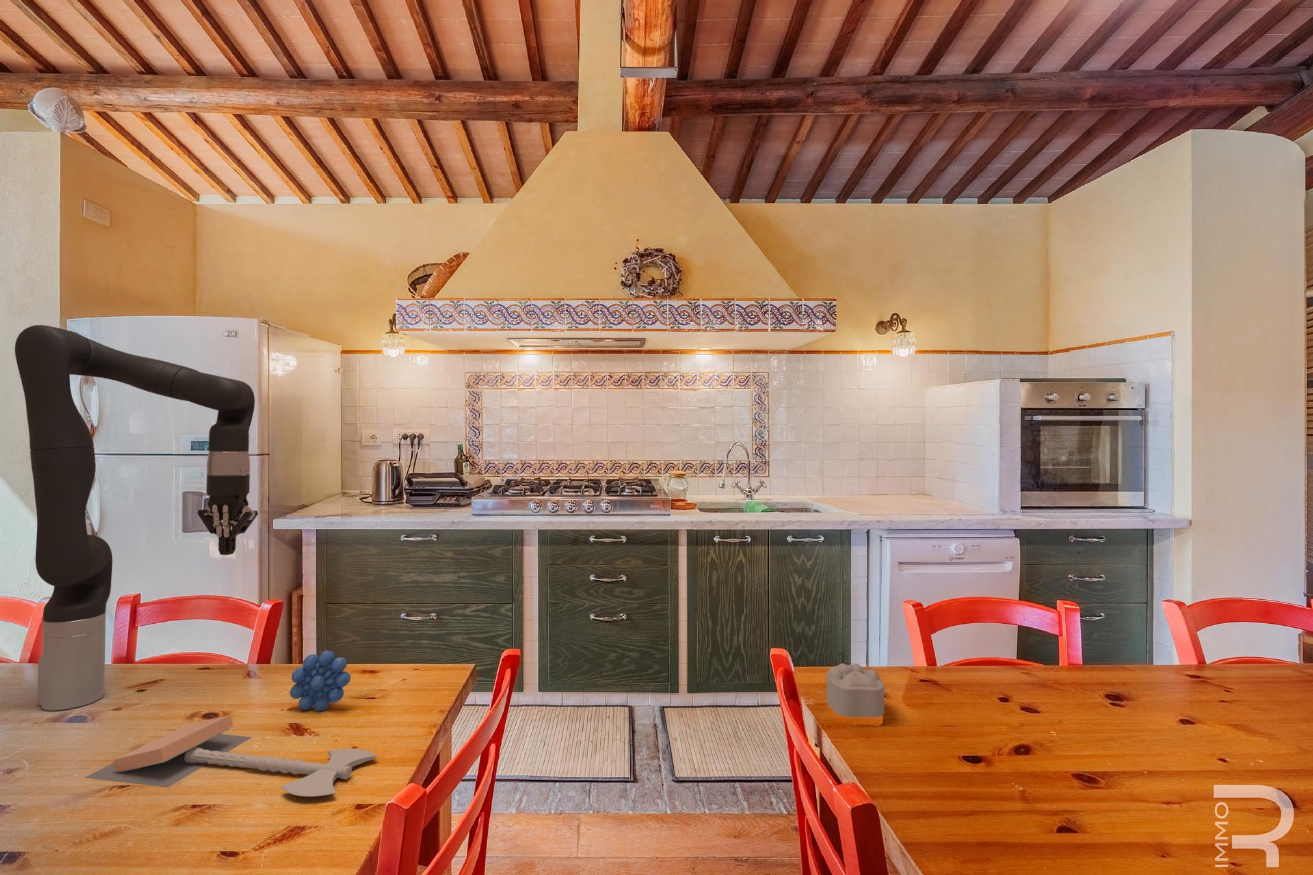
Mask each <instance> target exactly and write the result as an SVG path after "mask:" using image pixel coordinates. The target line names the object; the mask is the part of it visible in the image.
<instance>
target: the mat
mask: <svg viewBox="0 0 1313 875" xmlns="http://www.w3.org/2000/svg"><path fill="white" fill-rule="evenodd" d="M252 738H253V737H252V736H243V735H234V734H226V733H225V734H224V733H221V734H219V735H217V736H215V737H213V738H211V739H209V740H207V741H205V742H203V743H201V744H199V745H197V746H195V747H200V748H202V749H204V750H210V751H220V752H229V751H231V750H233V749H235V748H237V747H238V746H240V745H242V744H243V743H244V742H247V741H248V740H250V739H252ZM186 752H187V751H186ZM186 752H184V753H182V754H180V755H178V756H176V757H174V758H172V759H170V760H168V761H166V762H163V763H158V764H154V765H150V766H145V767H141V768H137V769H133V770H128V771H124V772H121V771H120V772H116V771H115V767H114V762H113V763H110V764H109V765H107V766H105V767H102V768H101V769H98V770H96V771H94V772H93V773H91V774H89V775H86V776H85V777H84V778H85V779H92V780H93V779H94V780H101V781H111V782H119V783H127V784H128V783H129V784H136V785H144V786H145V785H147V786H152V787H153V786H154V787H161V788H162V787H163V788H169V787H171V786H172V785H174V784H175V783H177V782H179V781H181V780H182V779H184V778H185V777H188V776H189V775H190V774H191V775H192V774H193V773H194V772H196V771H198V770H199V769H201V768H202V767H204V766H206V765H208V763H206V762H205V763H199V762H198V763H186V762H185V760H184V757H185V754H186Z"/></svg>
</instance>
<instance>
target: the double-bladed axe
mask: <svg viewBox="0 0 1313 875" xmlns="http://www.w3.org/2000/svg"><path fill="white" fill-rule="evenodd" d="M326 752H327V754H328V755H329V757H330V759H329V761H327V762H326V763H321V762H320V763H319V762H311V761H304V760H303V759H296V760H294V759H293V758H290V757H289V758H287V757H286V758H283V757H277V756H276V757H273V756H269V755H265V756H257V755H251V754H248V753H247V754H246V753H243V754H241V753H240V752H239V753H238V752H236V753H235V752H233V753H232V752H229V751H228V752H220V751H210V750H204V749H202V748H200V747H193V748H191V749H189V750H188V751H187V752H186V754H185V757H184V760H185V762H186V763H198V762H199V763H205V762H206V763H208V764H209V765H218V766H229V767H239V768H243V769H244V768H245V769H246V768H251V769H259V770H260V771H264V772H266V771H270V772H273V773H276V772H280V773H283V774H288V773H291V774H293V775H300V774H302V775H306V776H304V777H302V778H299V779H296V780H293V781H291V782H288V783H285V784H282V785H281V789H283V791H284V792H286V793H288V794H290V795H294V796H299V797H322V796H328V795H329V796H330V795H333V794H337V790H336V789H335V787H334V783H335V781H336V780H337V779H340V780H348V779H349V778H350V777H351V775H352V772H353V767H356V766H358V765H360V764H363V763H366V762H368V761H371V760H375V759H377V758H378V756H377V754H375V753H374V752H372V751H370V750H366V749H362V748H339V749H332V750H328V751H326ZM208 764H207V765H208Z"/></svg>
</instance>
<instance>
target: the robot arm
mask: <svg viewBox="0 0 1313 875" xmlns="http://www.w3.org/2000/svg"><path fill="white" fill-rule="evenodd" d="M14 356H15V361H16V365H17V366H16V367H17V369H18V373H19V378H20V382H21V385H22V390H23V395H24V401H25V410H26V419H27V427H28V435H29V450H30V451H29V455H30V464H31V466H30V467H31V472H32V473H31V474H32V479H33V491H34V501H35V509H36V539H35V543H36V544H35V557H34V558H35V561H34V562H35V568H36V572H37V574H38V576H39V577H40V579H42V580H43V581H44V582H45V583H46V584H48V585H50V586H52V587H53V592H52V594H51V596H50V598H49V600H48V601H47V603H46V604H45V605H44V607H43V610H42V654H41V656H39V658H38V665H37V666H38V667H37V668H38V670H37V672H38V673H37V674H38V675H37V676H38V677H37V706H41V707H40V708H41V709H42V710H44V711H62V710H70V709H75V708H79V707H83V706H86V705H89V704H92V703H94V702H96V701H100V699H101V698H103V697H104V696H105V677H106V676H105V675H106V672H105V671H106V630H107V628H106V625H107V624H106V620H107V618H106V617H107V603H108V600H109V598H110V595H111V591H112V590H111V589H112V576H113V553H112V549H111V546H110V545H109V543H108V542H107V541H106V540H104V539H103V538H101V537H100V536H97V535H94V534H88V528H87V518H86V514H87V506H88V500H89V498H90V495H91V492H92V488H93V484H94V481H95V478H96V477H95V476H96V470H97V468H96V466H97V464H96V452H95V442H94V439H93V435H92V433H91V431H90V428H89V426H88V425H87V423H86V421H85V419H84V417H83V416H82V415H81V413H80V411H79V409H78V407H77V406H76V404H75V401H74V397H73V395H72V389H71V376H73V375H74V376H85V377H94V378H100V379H101V378H102V379H106V380H111V381H116V382H119V383H122V384H125V385H129V386H131V387H134V388H136V389H139V390H141V391H145V392H148V393H151V394H156V395H158V396H163V397H166V398H169V399H170V398H171V399H174V400H179V401H185V402H188V403H192V404H196V405H198V406H201V407H205V408H208V409H211V410H215V411H217V416H216V417H217V418H216V421H215V422H216V423H214V424H213V425H212V426H210V428H209V432H208V455H207V458H206V459H207V460H206V490H205V491H206V492H205V493H206V495H207V496H209V498H208V500H207V506H205V507H204V508H203V509H199V510H197V515H198V517H199V518H200V520H201V521H202V523H203V524H204V526H205V527H206V529H207V530H208V532H209V534H212V535H213V534H214V535H216V537H218V548H217V549H218V552H219V555H221V556H228V555H230V556H231V555H233V554H234V553H235V551H236V548H237V547H236V545H237V544H236V543H237V540H236V539H237V536H238V535H240V534H245V533H246V531H248V529H249V527H250V526H251V525H252V523H253V522H254V521H255V519H256V518H257V516H258V515H259V512H258V510H252V508H251V507H250V506H249V501H248V497H247V496H248V494H250V486H251V484H250V481H251V480H250V479H251V468H250V467H251V460H250V452H249V451H250V440H249V439H250V433H249V432H250V429H251V428H250V427H251V424H252V421H253V417H254V416H253V415H254V411H255V405H256V404H255V403H256V399H255V398H256V397H255V392H254V390H253V388H252V387H251V386H250V385H249V384H248V383H247V382H245V381H241V380H238V379H234V378H229V377H225V376H224V377H223V376H220V375H215V374H212V373H211V374H210V373H205V372H201V371H199V370H197V369H195V368H194V369H193V368H191V367H188V366H185V365H184V366H183V365H180V364H176V363H173V362H169V361H164V360H160V359H155V358H150V357H145V356H141V355H136V354H132V353H127V352H124V351H121V350H118V349H115V348H112V347H110V346H107V345H105V344H103V343H100V342H97V341H95V340H93V339H92V338H91V339H90V338H89V337H87V336H84V335H82V334H80V333H78V332H75V331H74V330H73V331H72V330H68V329H63V328H60V327H55V326H50V325H45V324H44V325H43V324H35V325H30V326H29V327H25V328H24V329H23V330H22V331H21V332H20V333H19V334H18V335H17V337H16V340H15V344H14ZM70 375H71V376H70Z"/></svg>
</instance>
